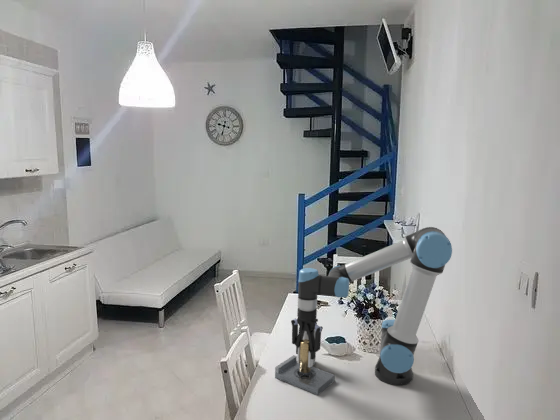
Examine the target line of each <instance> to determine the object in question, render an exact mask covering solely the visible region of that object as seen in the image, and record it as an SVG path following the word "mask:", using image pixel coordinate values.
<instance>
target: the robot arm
mask: <svg viewBox="0 0 560 420" xmlns="http://www.w3.org/2000/svg"><path fill="white" fill-rule="evenodd" d="M452 246H453V245H452V243H451V240H450V239H449V237H448V236H447V235H446V234H445V232H443V231H442V230H441V229H439V228H437V227H434V226H433V227H432V226H427V227H424V228H421V229H419V230H417V231H415V232H412V233H410V234H407V235H406V236H404V237H403V240H400V241H399V242H395V243H393V244H391V245H389V246H385V247H383V248H380V249H379V250H377V251H374V252H371V253H369V254H367V255H364V256H361V257H359V258H357V259H355V260H352V261H350V262H347V263H345V264H342V265H336V266H333V267H332V268H331V269H330V270H329V273H328V275H321V274H319V271H318V269H316V268H313V267H306V268H305V267H304V268H302V269H300V270H299V271H298V272H299V273H298V285H297V286H298V287H297V289H298V290H297V291H298V293H297V315H296V316H297V318H293V319H292V320H291V321H290V323H291V327H292V329H291V344H292V345H294V346H295V353H296V356H297V363H298V364H299V363H300V341H301V340H303V336H304V332H305V331H306V332H307V335H308V338H309V345H310V351H309V352H308V367H309V368H310V367H311V366H312V367H314V365H313V359H315V352H316V353H317V352H318V351H320V350H321V342H322V341H321V340H322V331H323V326H319V324H318V322H317V323H316V319H317V316H318V315H317V313H318V310H317V308H318V296H326V297H334V298H335V297H336V298H348V296H349V293H350V283H352V282H354V281H357V280H359V279H362V278H364V277H367V276H369V275H372V274H374V273H375V274H376V273H378V272H380V271H382V270H385V269H387V268H390V267H392V266H394V265H397V264H401V263H402V262H404V261H408V260H410V262H409V263H410V265H411V267H412V269H411V272H410V275H409V277H408V281H407V283H406V287H405V289H404V292H403V295H402V297H401V298H402V299H401V302H400V304H399V307H398V310H397V312H396V317H395V319H385V320H383V321H382V323H381V327H380V328H381V336H380V350H379V351H380V353H379V357H378V359H377V362H376V365H375V367H374V375H375V376H376V378H377V379H378V380H380V381H381V382H384V383H386V384H389V385H394V386H395V385H396V386H403V385H409V384H410V383H412V381H413V378H414V372H413V368H412V367H413V365H414V362H415V357H414V355H415V352H416V350H417V347H418V346H417V345H418V343H419V338H418V336H417V333H418V330H419V327H420V324H421V321H422V318H423V315H424V313H425V310H426V307H427V304H428V301H429V298H430V295H431V293H432V290H433V288H434V284H435V282H436V278H437V276H438V275H439V276H440V275H442V274H443V272H444V269H445V267H446V265H447V264H448V263H449V261H450V260H451V259H452V254H453V247H452ZM314 328H315V331H316V333H315V338H314ZM315 360H316V359H315Z"/></svg>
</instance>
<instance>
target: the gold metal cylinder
mask: <svg viewBox="0 0 560 420" xmlns="http://www.w3.org/2000/svg"><path fill="white" fill-rule="evenodd" d="M309 351H310V345H309V340H308V339H303V340H301V341H300V372H302V373H309V372H310V371H311V367H310V368H309V367H308V352H309Z"/></svg>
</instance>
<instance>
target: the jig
mask: <svg viewBox="0 0 560 420" xmlns="http://www.w3.org/2000/svg"><path fill="white" fill-rule="evenodd" d="M297 356H298V355H293V354H292V356H290V357H289V358H286V360H284V361H282V362H281V363H280V364H278V365H277V366H275V368H274V370H275V372H274V378H275V379H277V380H280V381H282V382H285V383H287V384H289V385H292V386H294V387H297V388H299V389H301V390H304V391H307V392H309V393H311V394H314V395H316V396H318V395H320V394H321V393H323V391H325V390H326V389H327V388H328V387H329V386H330V385H332V384H333V383H334V382H335V379H336V378H335V377H336V375H335V374H333V373H330V372H327V371H325V370H322V369H319V368H317V367H316V366H315V367H314V366H311V371H310V372H309V373H302V372H300V363H299V364H298V363H297ZM303 376H304V377H303ZM305 376H306V377H305Z"/></svg>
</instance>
